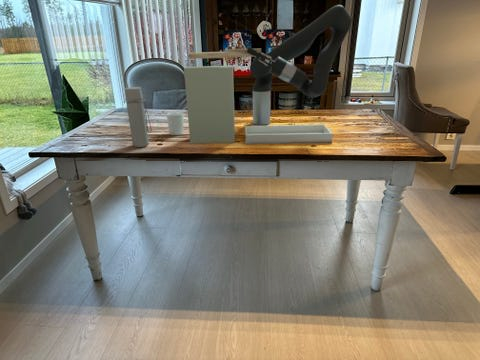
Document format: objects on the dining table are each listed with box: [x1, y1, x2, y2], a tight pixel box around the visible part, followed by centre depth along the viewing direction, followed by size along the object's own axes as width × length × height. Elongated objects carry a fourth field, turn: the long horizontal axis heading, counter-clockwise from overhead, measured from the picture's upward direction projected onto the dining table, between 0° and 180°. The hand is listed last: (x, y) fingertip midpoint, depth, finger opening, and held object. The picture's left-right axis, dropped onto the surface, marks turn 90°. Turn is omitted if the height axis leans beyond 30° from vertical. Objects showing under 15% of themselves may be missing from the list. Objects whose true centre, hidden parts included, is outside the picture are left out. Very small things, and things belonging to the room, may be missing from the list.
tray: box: [244, 124, 334, 145], centre depth 156 cm, size 16×38×4 cm, turn 90°
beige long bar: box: [187, 48, 262, 60], centre depth 143 cm, size 7×30×3 cm, turn 90°
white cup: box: [166, 111, 184, 136], centre depth 167 cm, size 8×8×10 cm
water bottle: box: [124, 86, 152, 148], centre depth 147 cm, size 9×8×25 cm
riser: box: [183, 65, 236, 144], centre depth 151 cm, size 10×20×32 cm, turn 90°
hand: (247, 49), depth 142 cm, fingers closed on beige long bar, 3 cm apart
